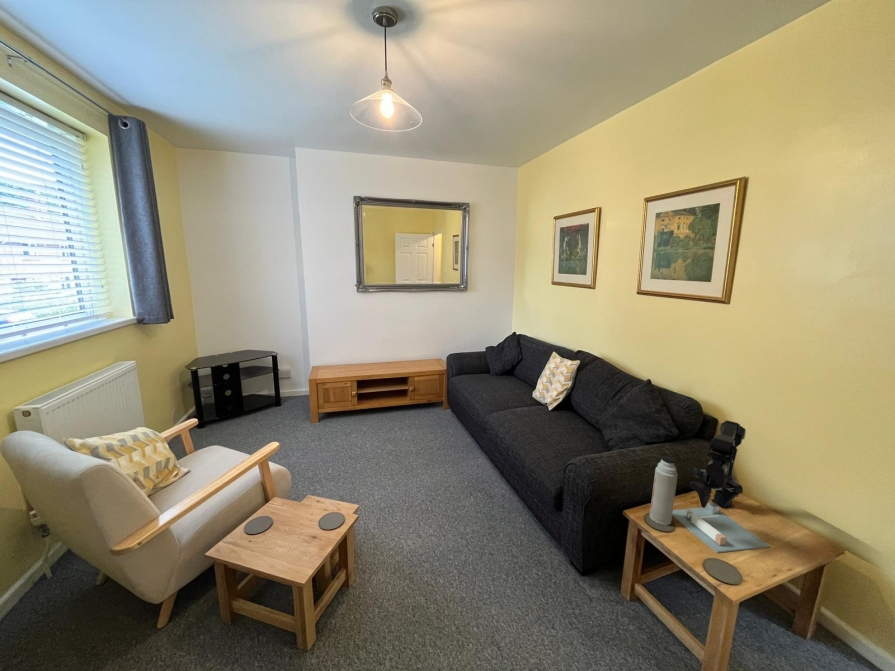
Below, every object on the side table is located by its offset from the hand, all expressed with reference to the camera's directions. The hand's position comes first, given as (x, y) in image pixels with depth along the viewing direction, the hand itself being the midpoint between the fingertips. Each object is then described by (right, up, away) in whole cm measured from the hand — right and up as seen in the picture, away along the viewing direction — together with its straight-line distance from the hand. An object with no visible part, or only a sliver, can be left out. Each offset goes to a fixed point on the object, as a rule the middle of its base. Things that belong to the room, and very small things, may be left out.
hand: (713, 506), depth 138 cm
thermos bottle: (-14, -11, +11) cm, 21 cm away
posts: (+5, -11, +14) cm, 18 cm away
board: (+6, -12, +6) cm, 15 cm away
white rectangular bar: (-1, -12, +2) cm, 12 cm away
